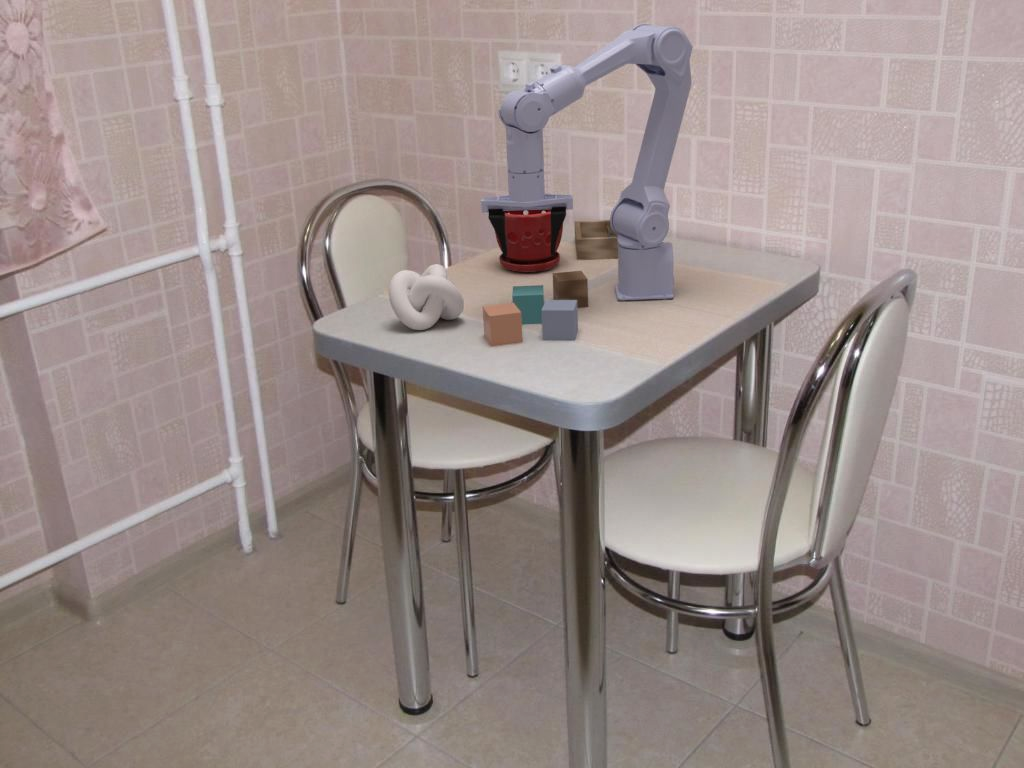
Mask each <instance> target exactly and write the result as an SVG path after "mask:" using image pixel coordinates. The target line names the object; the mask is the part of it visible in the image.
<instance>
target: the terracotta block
mask: <svg viewBox="0 0 1024 768" xmlns="http://www.w3.org/2000/svg"><path fill="white" fill-rule="evenodd" d="M482 319H483V322H482V323H483V336H484V338H485V339H486V341H487V343H488V344H489V345H490V347H497V346H504V345H513V344H519V343H520V344H521V343H523V342H524V341H523V324H522V318H521V311H520V310H519V309H518V308H517V306H516V305H515V304H514V303H513V302H508V303H507V302H506V303H499V304H491V305H483V306H482Z"/></svg>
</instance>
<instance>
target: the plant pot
mask: <svg viewBox="0 0 1024 768" xmlns="http://www.w3.org/2000/svg"><path fill="white" fill-rule="evenodd" d="M524 211H527V214H524ZM505 227H506V239H507V248H508V254H507V256H503V253H502V248H501V245H500V242H499V239H498V236H497V234H496V232H495V231H494V234H495V238H496V242H497V245H498V248H499V249H500V251H501V254H500V255H499V258H498V261H499V262H500V264H501V265H502V266H503V267H504V268H505V269H508V270H511V271H514V272H517V273H519V272H520V273H537V272H543V271H546V270H549V269H551V268H553V267H555V266H556V265H557V264H558V263H559V261H560V259H561V254H560V252H559V251H558V249H559V247H560V245H561V241H562V237H563V231H564V230H563V229H564V223H563V224H562V226H561V229H560V232H559V235H558V238H557V242H556V247H555V255H551V251H550V244H551V209H542V210H513V211H505Z"/></svg>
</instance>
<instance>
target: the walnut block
mask: <svg viewBox="0 0 1024 768" xmlns="http://www.w3.org/2000/svg"><path fill="white" fill-rule="evenodd" d="M588 281H589V280H588V278H587V276H586V275H585V273H584V272H583V270H574V271H564V272H563V271H562V272H561V271H560V272H553V273H552V294H553V295H552V296H553V299H552V300H577V309H579V308H589V284H588V283H589V282H588Z"/></svg>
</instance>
